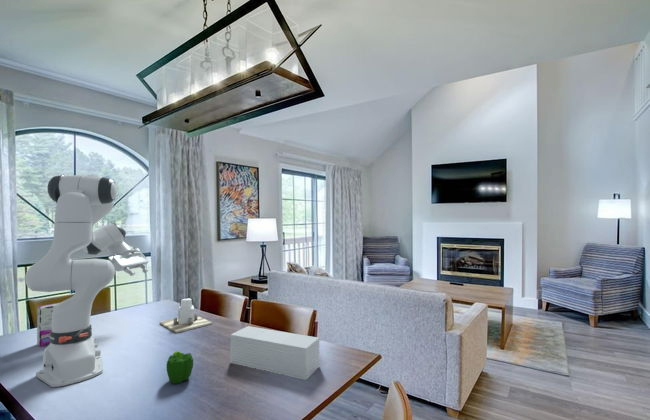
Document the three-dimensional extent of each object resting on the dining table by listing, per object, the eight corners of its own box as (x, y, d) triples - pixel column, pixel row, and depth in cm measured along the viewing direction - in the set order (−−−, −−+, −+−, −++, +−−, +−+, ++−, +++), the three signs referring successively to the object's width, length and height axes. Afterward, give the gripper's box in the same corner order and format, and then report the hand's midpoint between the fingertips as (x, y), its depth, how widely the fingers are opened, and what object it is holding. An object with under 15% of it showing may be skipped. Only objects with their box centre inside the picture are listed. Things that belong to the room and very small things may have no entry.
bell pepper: (185, 371, 114) (185, 343, 114) (197, 379, 109) (197, 349, 109) (160, 380, 108) (161, 350, 108) (172, 389, 102) (172, 357, 103)
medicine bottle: (178, 320, 168) (178, 297, 168) (193, 318, 171) (193, 296, 171) (178, 324, 161) (178, 300, 162) (193, 322, 164) (194, 299, 165)
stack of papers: (230, 363, 121) (230, 334, 122) (247, 352, 131) (248, 326, 131) (306, 380, 108) (306, 348, 109) (319, 367, 118) (319, 337, 118)
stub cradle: (211, 324, 166) (211, 316, 166) (176, 333, 153) (176, 324, 153) (193, 316, 179) (194, 308, 180) (159, 323, 166) (159, 316, 166)
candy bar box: (68, 337, 147) (69, 300, 148) (71, 339, 144) (72, 302, 145) (36, 344, 139) (37, 306, 139) (39, 347, 136) (40, 308, 136)
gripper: (110, 251, 153) (129, 272, 152) (140, 247, 174) (157, 266, 172) (102, 260, 154) (120, 281, 152) (132, 256, 174) (149, 274, 172)
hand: (140, 273), depth 162 cm, fingers open, 8 cm apart
